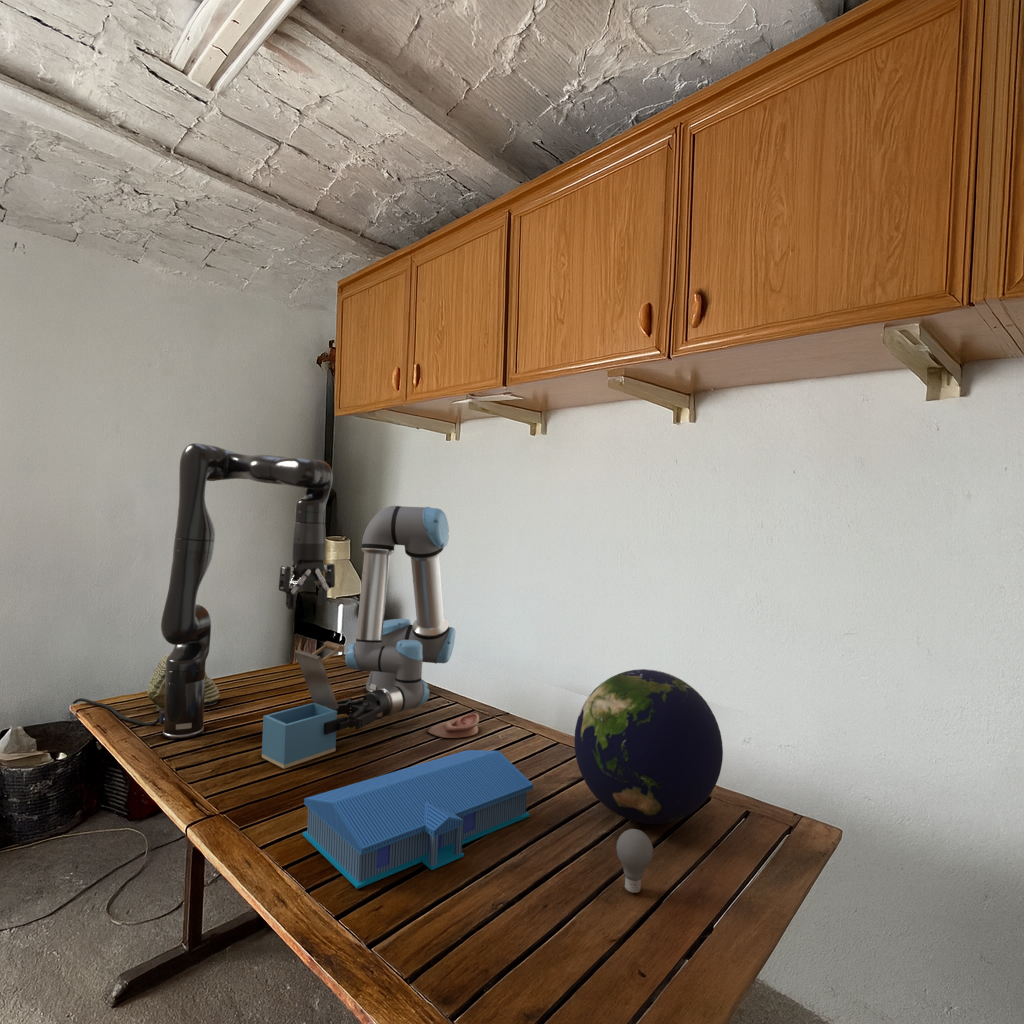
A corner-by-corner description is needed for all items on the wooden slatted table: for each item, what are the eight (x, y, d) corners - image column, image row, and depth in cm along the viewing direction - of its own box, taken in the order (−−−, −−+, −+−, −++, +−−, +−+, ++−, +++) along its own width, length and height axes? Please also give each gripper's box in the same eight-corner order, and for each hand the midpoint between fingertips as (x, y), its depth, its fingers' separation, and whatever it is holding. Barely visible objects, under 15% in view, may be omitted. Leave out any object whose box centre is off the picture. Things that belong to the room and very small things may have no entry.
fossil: (144, 707, 182) (145, 655, 182) (212, 696, 194) (213, 647, 194) (151, 716, 175) (153, 662, 175) (221, 703, 188) (223, 653, 188)
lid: (317, 658, 152) (345, 639, 159) (294, 651, 158) (322, 632, 164) (335, 710, 157) (362, 688, 164) (313, 701, 163) (339, 681, 169)
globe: (552, 832, 123) (559, 678, 123) (592, 773, 151) (597, 648, 150) (712, 872, 112) (721, 703, 111) (723, 800, 140) (730, 665, 139)
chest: (283, 768, 146) (285, 725, 146) (261, 757, 152) (263, 715, 152) (335, 751, 158) (337, 711, 158) (313, 740, 164) (314, 702, 163)
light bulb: (610, 879, 108) (613, 822, 108) (644, 879, 109) (647, 822, 109) (619, 902, 102) (622, 840, 102) (655, 901, 103) (658, 840, 103)
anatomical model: (424, 720, 170) (437, 707, 181) (423, 735, 170) (437, 721, 181) (472, 726, 167) (482, 712, 179) (471, 741, 167) (482, 726, 179)
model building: (367, 898, 100) (369, 836, 100) (301, 833, 119) (303, 781, 118) (541, 822, 127) (543, 772, 127) (465, 778, 145) (467, 735, 145)
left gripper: (292, 543, 146) (289, 612, 147) (342, 541, 158) (340, 606, 158) (274, 540, 151) (271, 608, 151) (324, 539, 162) (322, 602, 163)
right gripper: (409, 726, 169) (339, 750, 151) (355, 707, 182) (286, 727, 164) (410, 698, 169) (341, 719, 151) (357, 681, 182) (287, 698, 164)
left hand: (306, 607), depth 155 cm, fingers open, 8 cm apart
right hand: (312, 723), depth 158 cm, fingers closed on chest, 9 cm apart
